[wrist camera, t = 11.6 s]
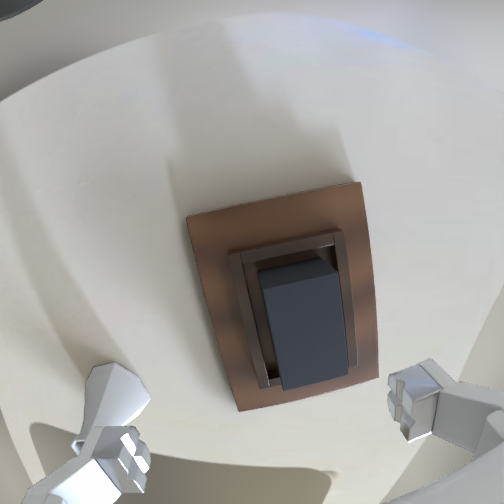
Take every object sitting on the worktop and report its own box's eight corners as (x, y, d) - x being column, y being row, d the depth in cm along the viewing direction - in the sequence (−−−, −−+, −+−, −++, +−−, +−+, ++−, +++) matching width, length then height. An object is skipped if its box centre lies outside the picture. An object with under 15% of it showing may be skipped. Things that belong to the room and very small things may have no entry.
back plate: (187, 215, 27) (182, 218, 24) (356, 181, 27) (368, 181, 25) (238, 405, 31) (239, 421, 29) (375, 371, 31) (384, 385, 29)
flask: (120, 422, 31) (95, 483, 21) (76, 379, 30) (37, 434, 20) (162, 399, 31) (143, 466, 21) (115, 350, 29) (77, 409, 20)
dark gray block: (257, 270, 27) (261, 288, 22) (320, 256, 27) (338, 271, 22) (276, 361, 29) (283, 391, 24) (332, 347, 29) (348, 374, 24)
